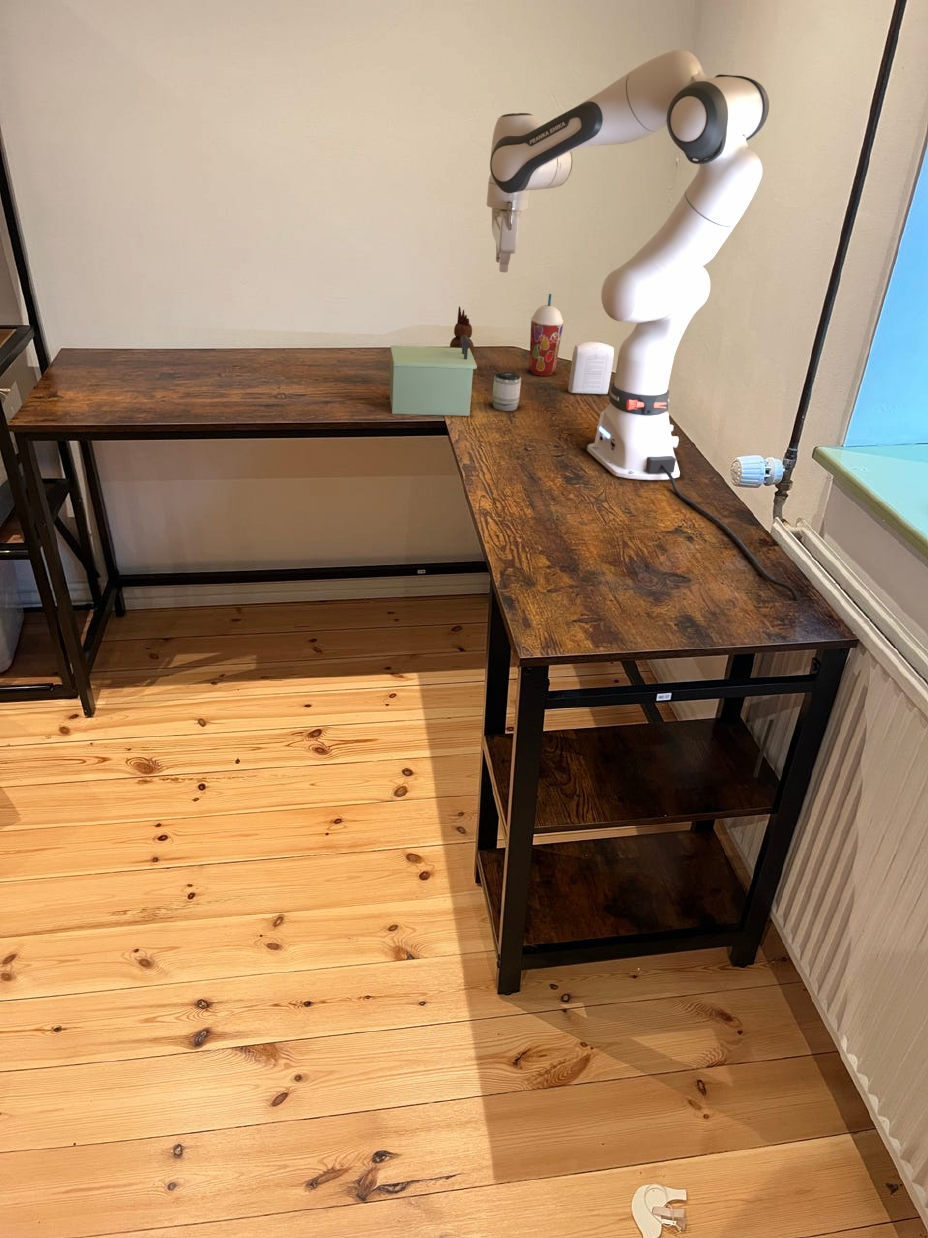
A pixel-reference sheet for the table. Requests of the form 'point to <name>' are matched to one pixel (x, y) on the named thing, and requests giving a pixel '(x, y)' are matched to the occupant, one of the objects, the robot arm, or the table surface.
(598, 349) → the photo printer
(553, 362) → the smoothie
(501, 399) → the camera lens
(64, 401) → the table surface
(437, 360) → the lid
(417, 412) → the storage box
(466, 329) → the wooden figurine
